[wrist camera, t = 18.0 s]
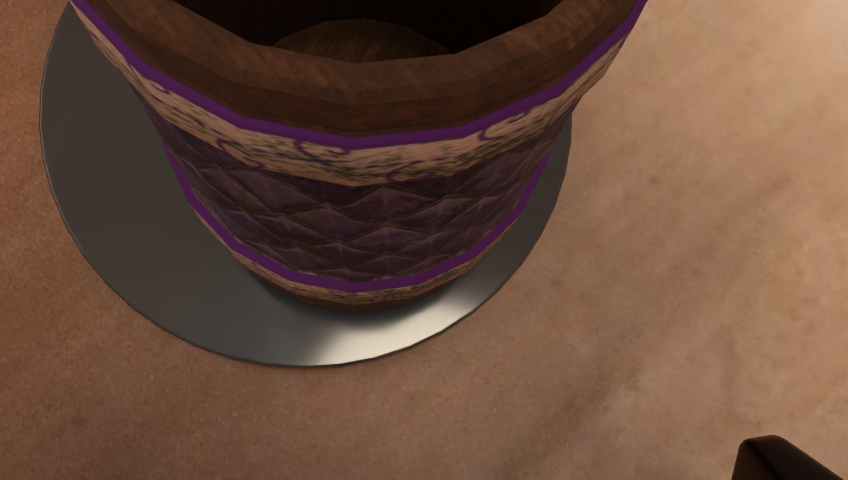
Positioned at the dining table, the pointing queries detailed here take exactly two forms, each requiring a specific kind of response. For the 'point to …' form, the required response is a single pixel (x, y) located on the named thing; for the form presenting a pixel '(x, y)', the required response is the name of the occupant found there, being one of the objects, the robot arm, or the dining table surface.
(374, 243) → the mug
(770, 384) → the dining table surface
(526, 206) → the coaster
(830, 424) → the dining table surface
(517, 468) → the dining table surface
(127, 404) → the dining table surface
